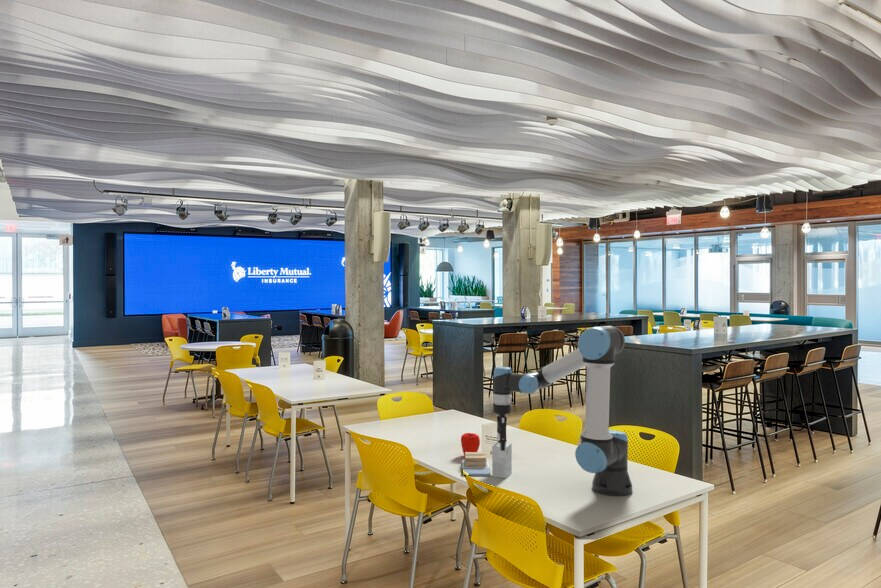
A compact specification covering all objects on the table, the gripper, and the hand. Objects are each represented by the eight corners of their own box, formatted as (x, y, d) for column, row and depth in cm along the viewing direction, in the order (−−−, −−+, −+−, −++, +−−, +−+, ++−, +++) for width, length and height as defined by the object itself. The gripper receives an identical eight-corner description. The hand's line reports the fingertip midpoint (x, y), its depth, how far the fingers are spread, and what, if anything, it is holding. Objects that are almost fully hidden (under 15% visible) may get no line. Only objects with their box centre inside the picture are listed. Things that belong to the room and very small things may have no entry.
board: (490, 476, 246) (490, 473, 246) (462, 475, 247) (462, 473, 247) (488, 462, 266) (488, 459, 266) (461, 462, 267) (461, 459, 267)
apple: (483, 455, 278) (483, 432, 278) (473, 459, 271) (473, 436, 271) (467, 452, 283) (467, 430, 283) (457, 456, 276) (457, 433, 276)
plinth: (485, 467, 256) (485, 457, 256) (465, 466, 256) (465, 457, 256) (485, 461, 265) (485, 452, 265) (465, 460, 265) (465, 452, 265)
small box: (498, 471, 253) (498, 441, 253) (512, 473, 251) (512, 442, 251) (491, 476, 246) (491, 445, 246) (506, 478, 243) (506, 447, 243)
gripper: (513, 409, 236) (512, 462, 236) (508, 398, 261) (507, 445, 261) (495, 409, 236) (494, 461, 236) (491, 397, 261) (490, 444, 261)
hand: (501, 453), depth 248 cm, fingers open, 13 cm apart
